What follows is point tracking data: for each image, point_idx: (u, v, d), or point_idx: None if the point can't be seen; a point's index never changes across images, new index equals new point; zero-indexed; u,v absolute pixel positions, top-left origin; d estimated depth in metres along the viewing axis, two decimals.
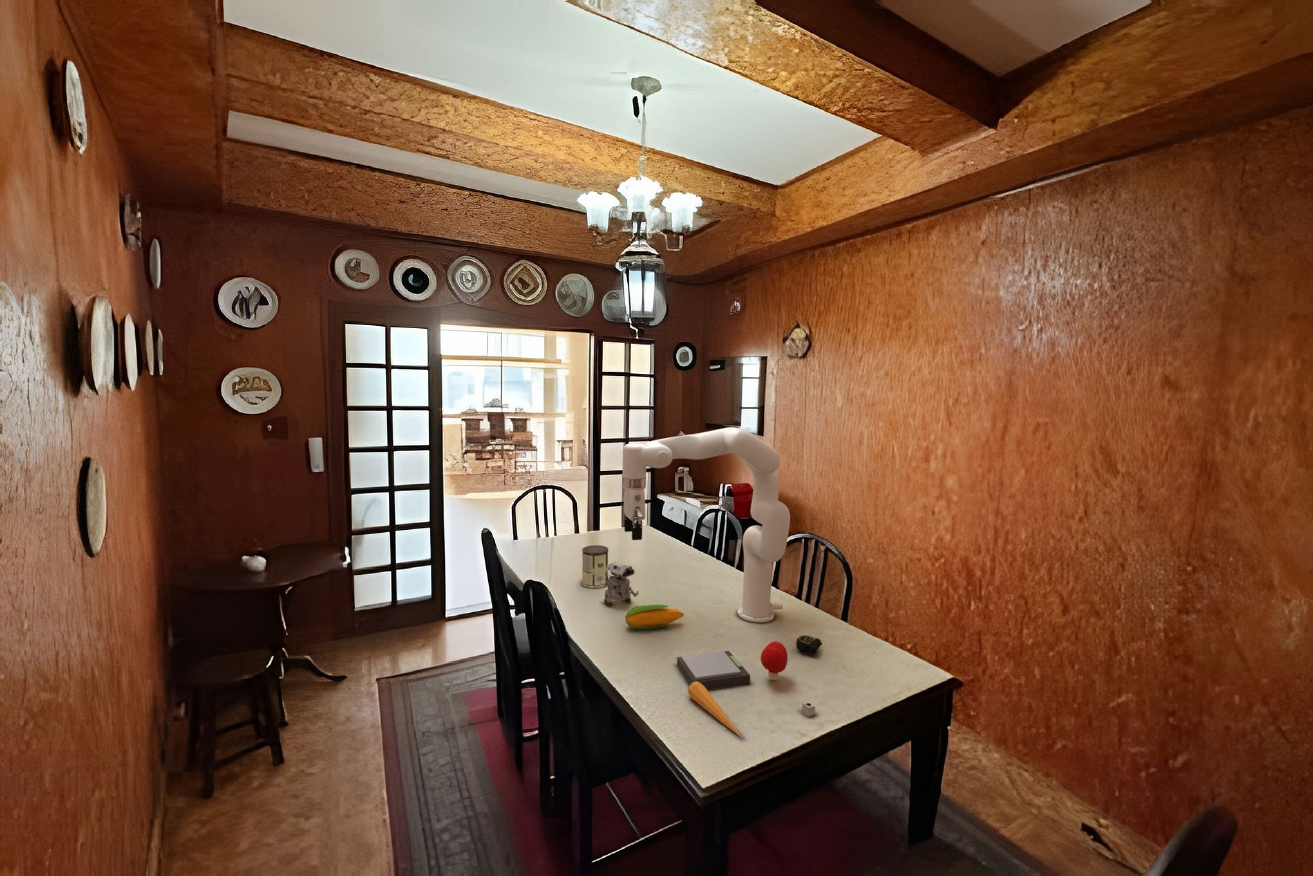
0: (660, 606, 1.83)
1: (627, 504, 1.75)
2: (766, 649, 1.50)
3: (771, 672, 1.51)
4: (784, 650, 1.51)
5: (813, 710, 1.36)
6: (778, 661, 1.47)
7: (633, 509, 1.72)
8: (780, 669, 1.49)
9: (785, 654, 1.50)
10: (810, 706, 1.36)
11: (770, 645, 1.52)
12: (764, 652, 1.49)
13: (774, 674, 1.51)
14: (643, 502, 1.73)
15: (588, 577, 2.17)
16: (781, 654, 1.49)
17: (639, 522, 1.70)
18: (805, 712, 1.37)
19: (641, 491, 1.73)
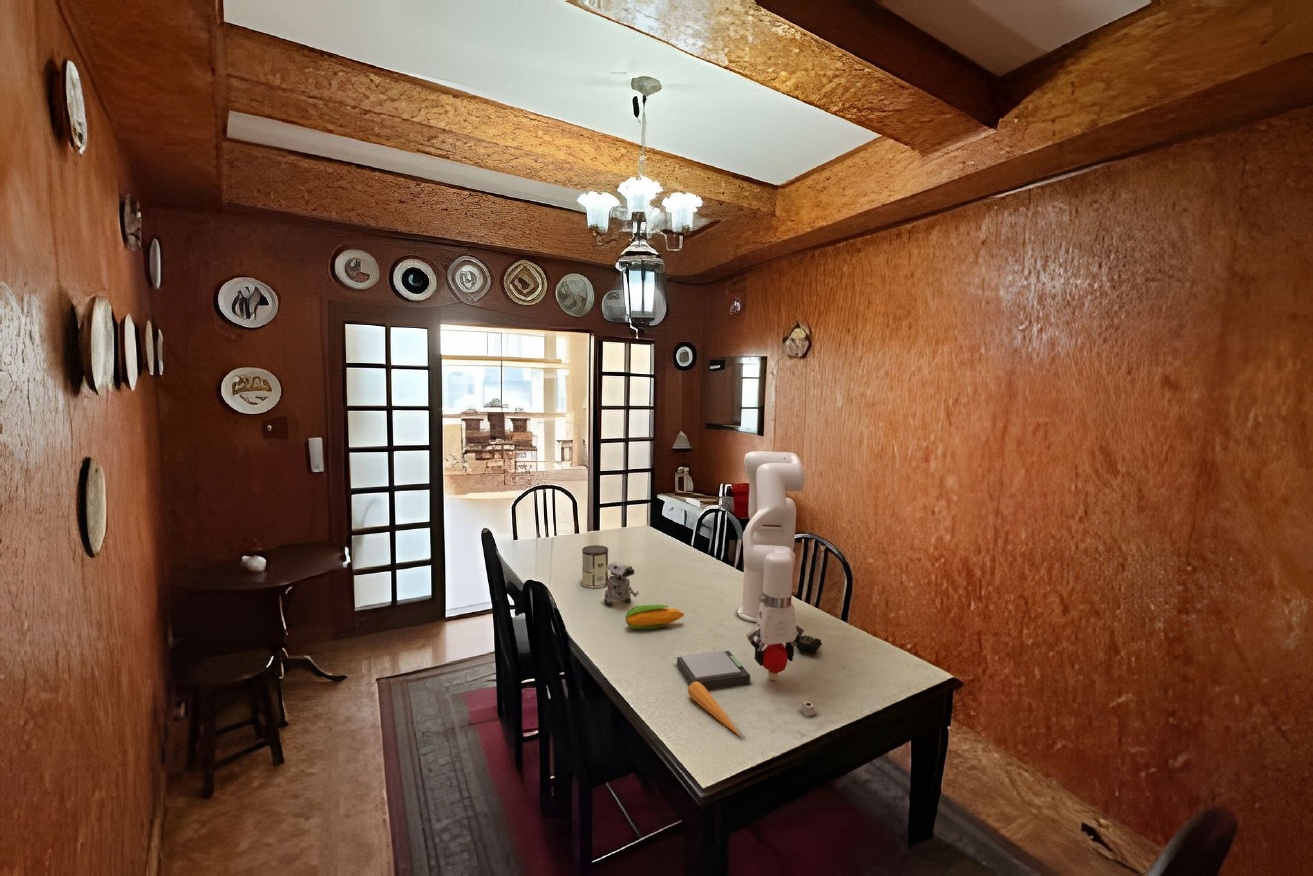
0: (660, 606, 1.83)
1: None
2: (766, 649, 1.50)
3: (771, 672, 1.51)
4: (784, 650, 1.51)
5: (812, 710, 1.36)
6: (778, 661, 1.47)
7: None
8: (780, 669, 1.49)
9: (785, 654, 1.50)
10: (810, 706, 1.36)
11: (770, 645, 1.52)
12: (764, 652, 1.49)
13: (774, 674, 1.51)
14: (763, 623, 1.47)
15: (588, 577, 2.17)
16: (781, 654, 1.49)
17: None
18: (805, 712, 1.37)
19: (763, 609, 1.48)
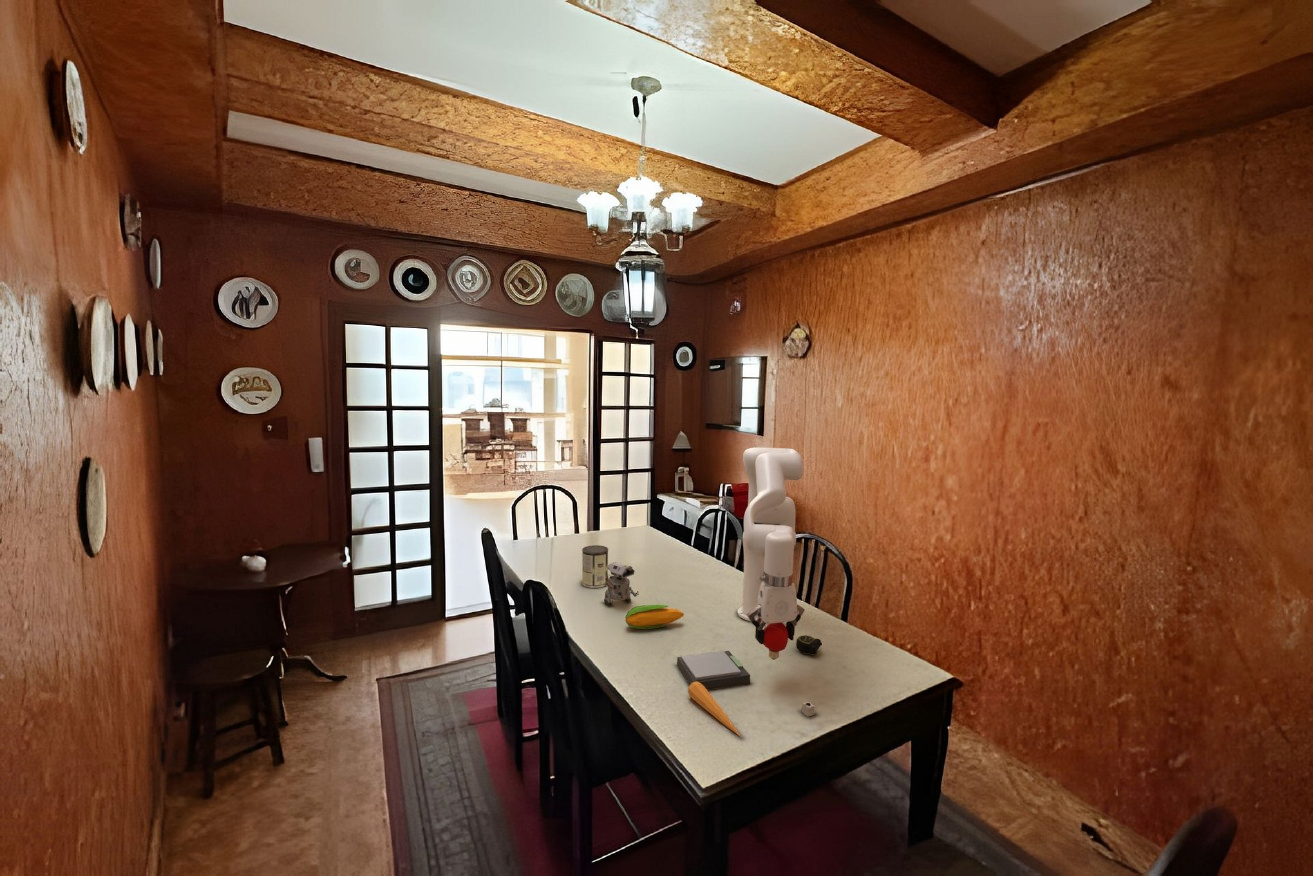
0: (660, 606, 1.83)
1: None
2: (767, 628, 1.50)
3: (772, 651, 1.51)
4: (785, 629, 1.51)
5: (812, 710, 1.36)
6: (779, 640, 1.47)
7: (757, 604, 1.50)
8: (780, 648, 1.49)
9: (786, 633, 1.50)
10: (810, 706, 1.36)
11: (771, 624, 1.52)
12: (765, 631, 1.49)
13: (775, 653, 1.51)
14: (764, 602, 1.47)
15: (588, 577, 2.17)
16: (782, 633, 1.49)
17: (750, 621, 1.49)
18: (805, 712, 1.37)
19: (764, 588, 1.47)
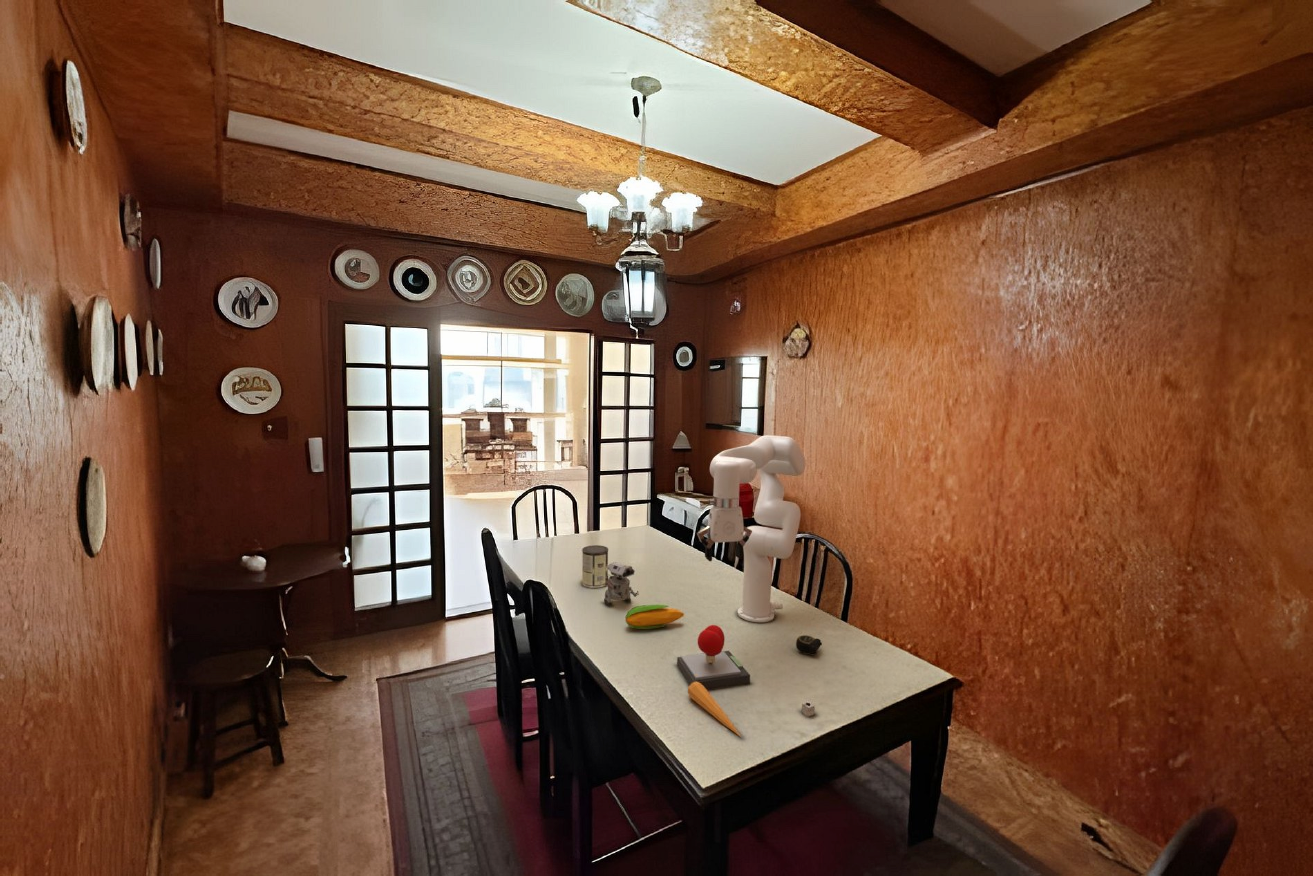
0: (660, 606, 1.83)
1: None
2: (702, 632, 1.51)
3: (708, 655, 1.53)
4: (721, 633, 1.53)
5: (812, 710, 1.36)
6: (713, 644, 1.49)
7: None
8: (716, 652, 1.50)
9: (721, 637, 1.52)
10: (810, 706, 1.36)
11: (707, 628, 1.54)
12: (700, 635, 1.51)
13: (711, 657, 1.52)
14: (712, 522, 1.62)
15: (588, 577, 2.17)
16: (717, 637, 1.51)
17: None
18: (804, 712, 1.37)
19: (713, 510, 1.62)
